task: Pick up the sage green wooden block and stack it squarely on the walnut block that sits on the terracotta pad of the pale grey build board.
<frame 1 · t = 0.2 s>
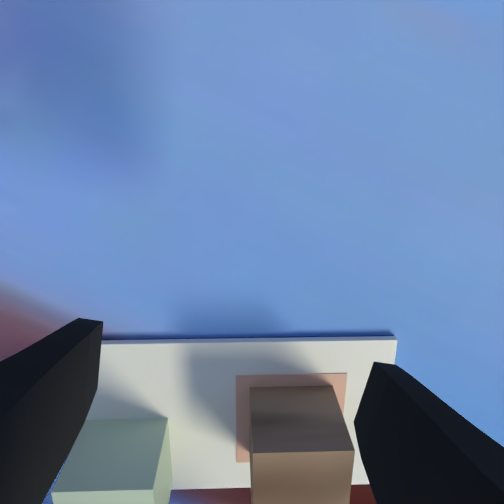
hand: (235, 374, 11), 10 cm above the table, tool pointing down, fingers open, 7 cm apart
build mat: (236, 415, 24), on the table
walnut block: (289, 419, 23), resting on build mat
sage block: (130, 451, 24), resting on build mat
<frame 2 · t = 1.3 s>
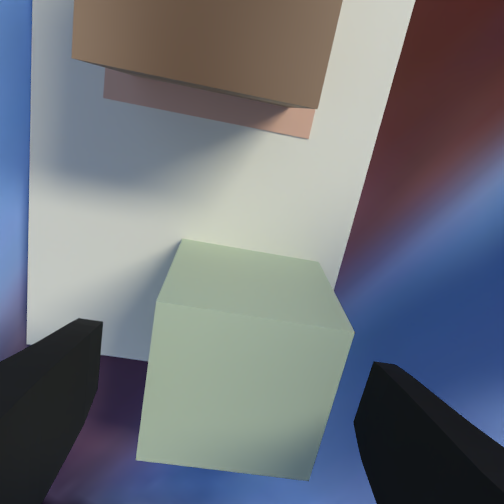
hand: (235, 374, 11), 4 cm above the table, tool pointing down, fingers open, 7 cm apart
build mat: (209, 118, 12), on the table
walnut block: (225, 2, 11), resting on build mat
sage block: (239, 311, 14), resting on build mat
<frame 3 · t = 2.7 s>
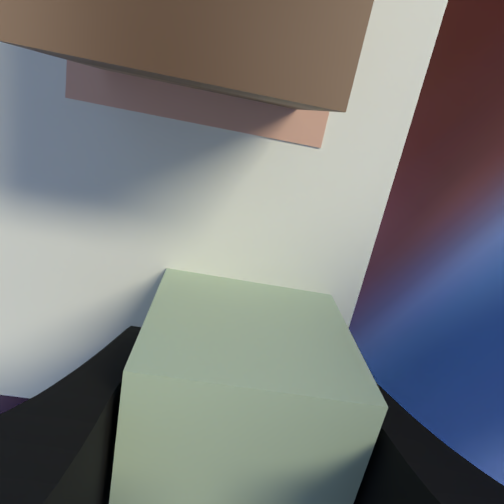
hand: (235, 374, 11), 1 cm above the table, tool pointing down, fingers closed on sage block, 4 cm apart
build mat: (198, 122, 10), on the table
sage block: (235, 353, 12), resting on build mat, touching gripper
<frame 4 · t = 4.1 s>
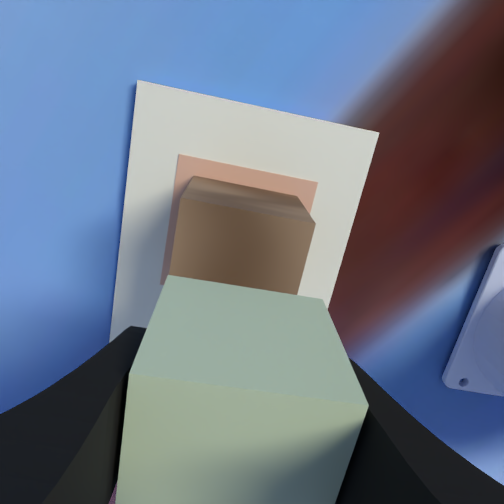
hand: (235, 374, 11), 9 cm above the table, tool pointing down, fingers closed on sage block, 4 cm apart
build mat: (224, 291, 20), on the table
walnut block: (236, 235, 19), resting on build mat
sage block: (233, 353, 13), point 7 cm above the table, touching gripper
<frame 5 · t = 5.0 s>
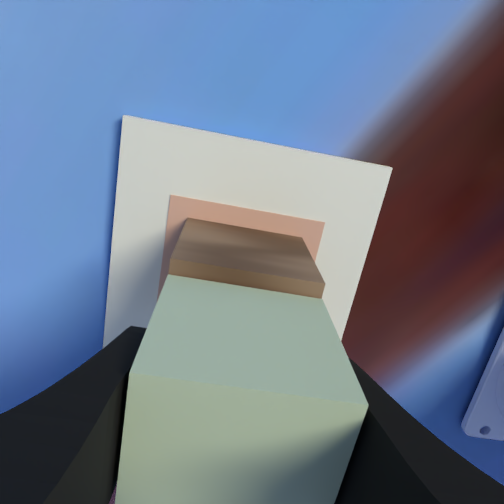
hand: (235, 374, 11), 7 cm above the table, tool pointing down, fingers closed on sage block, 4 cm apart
build mat: (223, 338, 18), on the table
walnut block: (235, 280, 17), resting on build mat
sage block: (233, 353, 13), point 5 cm above the table, touching gripper
when the fingers open (7 cm above the table, at t = 5.5 s): sage block stays where it is, resting on walnut block.
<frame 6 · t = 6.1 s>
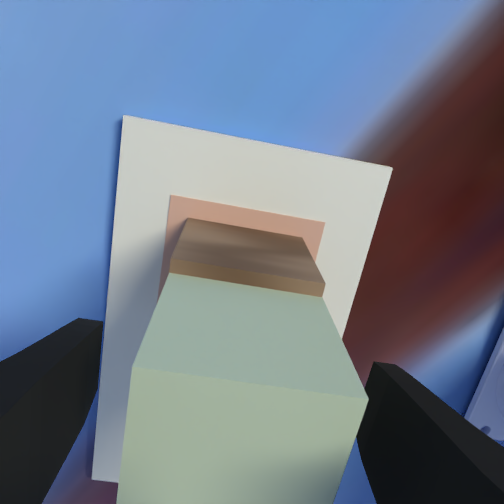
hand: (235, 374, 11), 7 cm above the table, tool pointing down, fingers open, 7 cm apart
build mat: (223, 338, 18), on the table
walnut block: (235, 280, 17), resting on build mat, touching sage block
sage block: (233, 351, 13), point 5 cm above the table, touching walnut block
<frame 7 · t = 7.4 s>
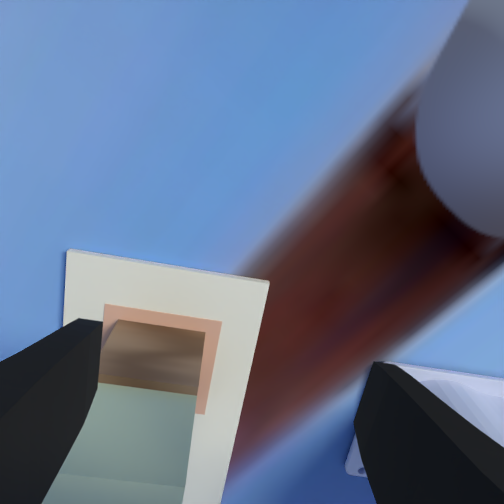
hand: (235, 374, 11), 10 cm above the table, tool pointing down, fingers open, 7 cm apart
build mat: (152, 402, 24), on the table
walnut block: (157, 362, 22), resting on build mat, touching sage block
sage block: (138, 431, 18), point 5 cm above the table, touching walnut block
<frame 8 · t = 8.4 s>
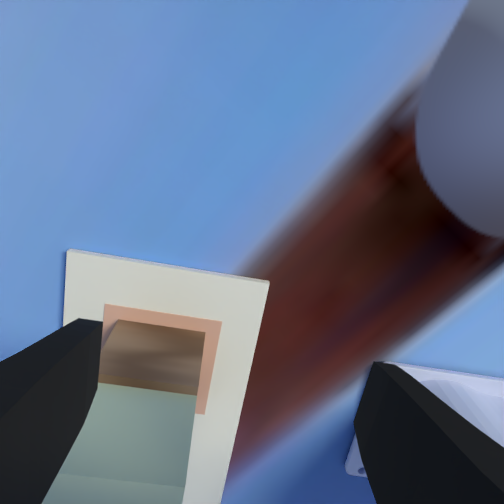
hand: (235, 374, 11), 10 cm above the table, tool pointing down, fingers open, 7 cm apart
build mat: (152, 402, 24), on the table
walnut block: (157, 362, 22), resting on build mat, touching sage block
sage block: (138, 431, 18), point 5 cm above the table, touching walnut block
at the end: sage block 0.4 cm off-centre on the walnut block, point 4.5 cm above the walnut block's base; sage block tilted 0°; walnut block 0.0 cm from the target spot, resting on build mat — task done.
